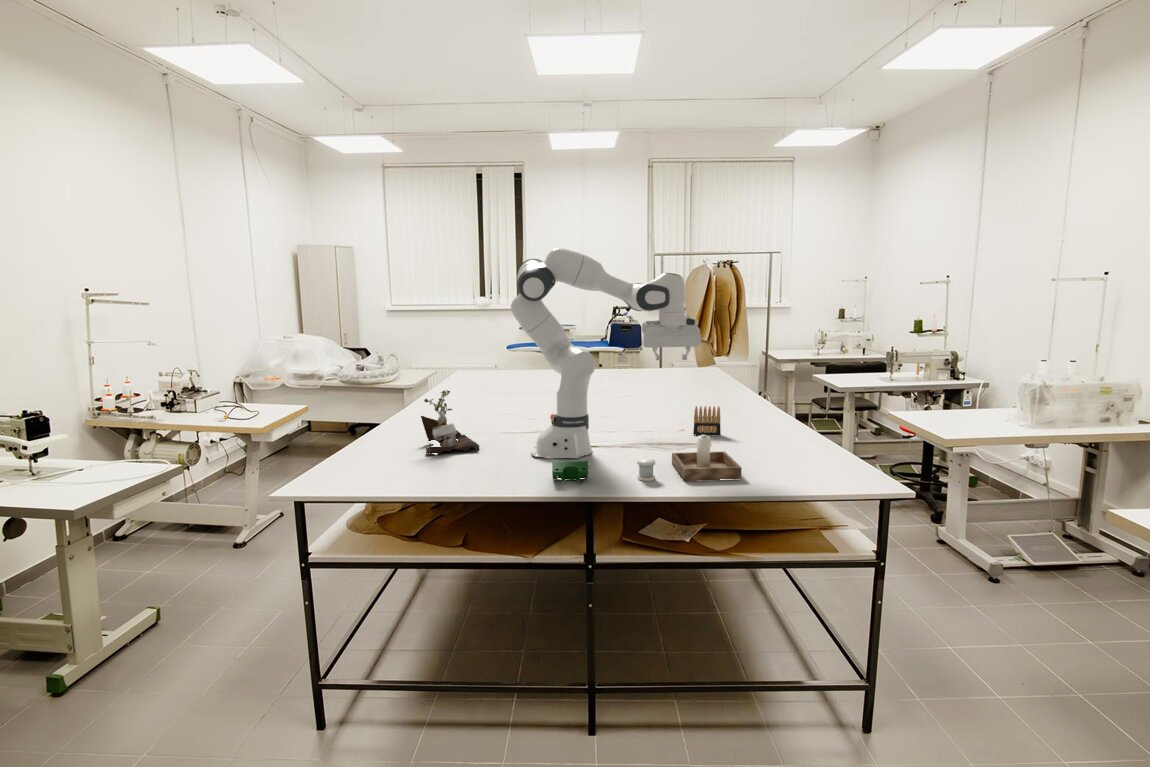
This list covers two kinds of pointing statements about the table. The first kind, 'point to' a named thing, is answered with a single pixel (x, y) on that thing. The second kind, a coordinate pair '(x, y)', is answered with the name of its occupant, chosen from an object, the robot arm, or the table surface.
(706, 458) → the grey tall block
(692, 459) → the tray
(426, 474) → the table surface
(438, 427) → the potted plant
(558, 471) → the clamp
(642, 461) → the small spool
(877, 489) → the table surface
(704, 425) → the ammunition clip
